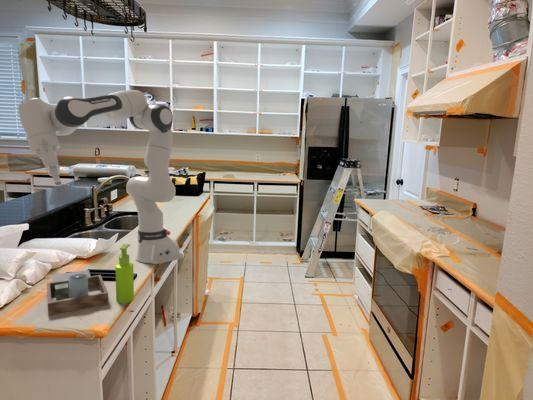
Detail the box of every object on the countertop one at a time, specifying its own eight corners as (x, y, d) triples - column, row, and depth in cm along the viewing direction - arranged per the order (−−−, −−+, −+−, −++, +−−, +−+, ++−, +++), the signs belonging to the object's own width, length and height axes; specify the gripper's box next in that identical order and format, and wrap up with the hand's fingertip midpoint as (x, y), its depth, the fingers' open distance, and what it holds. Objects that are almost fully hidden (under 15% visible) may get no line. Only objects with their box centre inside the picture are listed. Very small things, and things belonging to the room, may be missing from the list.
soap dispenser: (137, 295, 133) (136, 243, 130) (130, 303, 126) (129, 249, 123) (121, 294, 133) (119, 242, 129) (113, 303, 126) (112, 248, 123)
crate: (101, 284, 141) (100, 274, 140) (108, 303, 126) (107, 292, 125) (47, 293, 131) (46, 282, 130) (48, 315, 116) (47, 303, 115)
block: (68, 293, 132) (67, 283, 131) (68, 297, 129) (68, 287, 128) (55, 295, 130) (54, 285, 129) (56, 300, 127) (55, 289, 126)
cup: (87, 295, 131) (86, 272, 129) (89, 302, 126) (88, 278, 124) (69, 298, 128) (67, 274, 126) (70, 305, 123) (68, 281, 121)
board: (88, 273, 151) (88, 269, 150) (91, 281, 143) (91, 277, 143) (52, 278, 144) (52, 275, 144) (53, 287, 136) (53, 283, 136)
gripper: (53, 135, 116) (67, 175, 117) (56, 150, 134) (68, 185, 135) (31, 139, 113) (45, 181, 114) (37, 153, 131) (50, 189, 132)
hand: (58, 183), depth 124 cm, fingers open, 8 cm apart
